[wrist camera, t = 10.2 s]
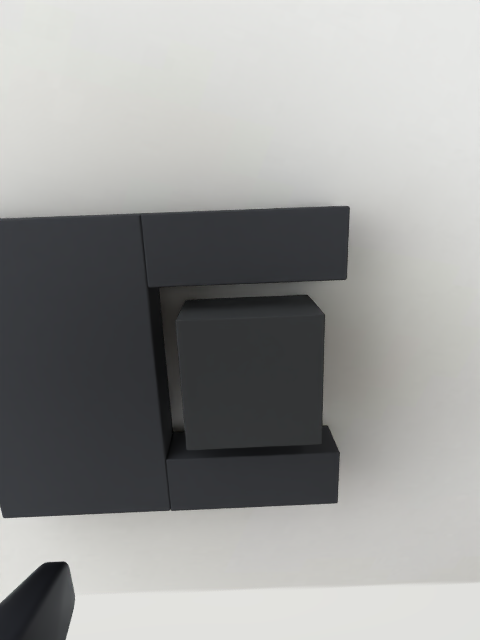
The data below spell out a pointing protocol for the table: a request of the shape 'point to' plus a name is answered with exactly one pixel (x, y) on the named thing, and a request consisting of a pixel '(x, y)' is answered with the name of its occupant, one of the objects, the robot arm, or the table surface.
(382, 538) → the table surface
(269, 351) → the black block
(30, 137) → the table surface
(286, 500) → the dark gray pronged block
